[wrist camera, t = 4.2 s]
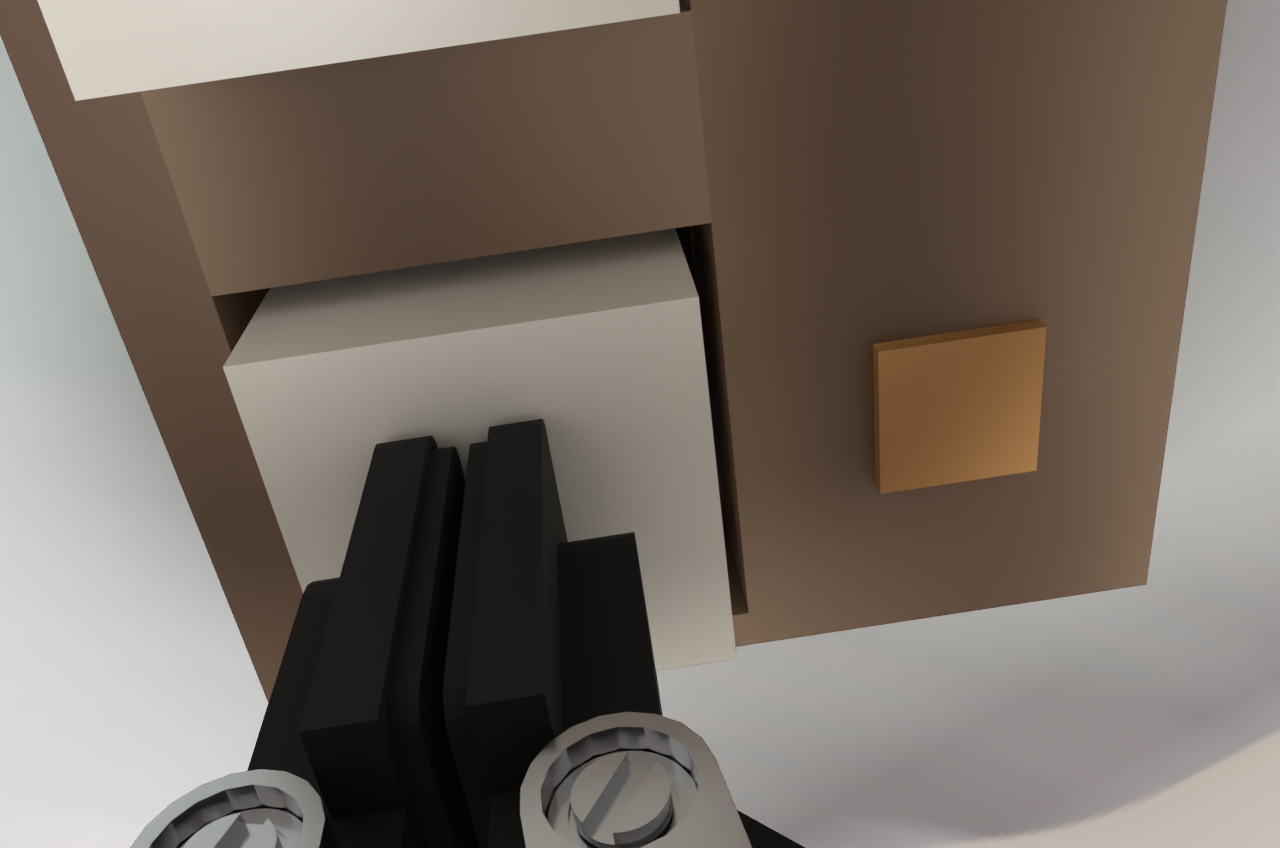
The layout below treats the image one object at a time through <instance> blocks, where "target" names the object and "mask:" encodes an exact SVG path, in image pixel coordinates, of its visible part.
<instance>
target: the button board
mask: <svg viewBox="0 0 1280 848" xmlns="http://www.w3.org/2000/svg"><path fill="white" fill-rule="evenodd" d="M1226 4H1227V0H679V7H680V13H677V14H670V15H663V16H656V17H649V18H642V19H636V20H629V21H622V22H615V23H608V24H601V25H594V26H587V27H581V28H574V29H567V30H560V31H553V32H546V33H539V34H532V35H526V36H519V37H512V38H505V39H498V40H491V41H484V42H477V43H471V44H464V45H457V46H450V47H443V48H436V49H429V50H422V51H416V52H409V53H402V54H395V55H388V56H381V57H374V58H367V59H361V60H354V61H347V62H340V63H333V64H326V65H319V66H312V67H306V68H299V69H292V70H285V71H278V72H271V73H264V74H257V75H251V76H244V77H237V78H230V79H223V80H216V81H209V82H202V83H196V84H189V85H182V86H175V87H168V88H161V89H154V90H148V91H141V92H134V93H127V94H120V95H113V96H106V97H99V98H93V99H86V100H79V101H75V98H74V96H73V93H72V90H71V88H70V85H69V83H68V80H67V77H66V75H65V72H64V69H63V67H62V64H61V61H60V59H59V56H58V54H57V51H56V48H55V46H54V43H53V40H52V38H51V35H50V32H49V30H48V27H47V25H46V22H45V19H44V17H43V14H42V11H41V9H40V6H39V3H38V1H37V0H0V35H1V38H2V40H3V43H4V45H5V48H6V50H7V53H8V55H9V58H10V60H11V63H12V65H13V68H14V70H15V73H16V75H17V78H18V80H19V83H20V85H21V88H22V90H23V93H24V95H25V98H26V100H27V103H28V105H29V108H30V110H31V112H32V115H33V117H34V120H35V122H36V125H37V127H38V130H39V132H40V135H41V137H42V140H43V142H44V145H45V147H46V150H47V152H48V155H49V157H50V160H51V162H52V165H53V167H54V170H55V172H56V175H57V177H58V180H59V182H60V185H61V187H62V190H63V192H64V195H65V197H66V200H67V202H68V205H69V207H70V210H71V212H72V215H73V217H74V220H75V222H76V225H77V227H78V230H79V232H80V235H81V237H82V239H83V242H84V244H85V247H86V249H87V252H88V254H89V257H90V259H91V262H92V264H93V267H94V269H95V272H96V274H97V277H98V279H99V282H100V284H101V287H102V289H103V292H104V294H105V297H106V299H107V302H108V304H109V307H110V309H111V312H112V314H113V317H114V319H115V322H116V324H117V327H118V329H119V332H120V334H121V337H122V339H123V342H124V344H125V347H126V349H127V352H128V354H129V357H130V359H131V362H132V364H133V366H134V369H135V371H136V374H137V376H138V379H139V381H140V384H141V386H142V389H143V391H144V394H145V396H146V399H147V401H148V404H149V406H150V409H151V411H152V414H153V416H154V419H155V421H156V424H157V426H158V429H159V431H160V434H161V436H162V439H163V441H164V444H165V446H166V449H167V451H168V454H169V456H170V459H171V461H172V464H173V466H174V469H175V471H176V474H177V476H178V479H179V481H180V484H181V486H182V489H183V491H184V493H185V496H186V498H187V501H188V503H189V506H190V508H191V511H192V513H193V516H194V518H195V521H196V523H197V526H198V528H199V531H200V533H201V536H202V538H203V541H204V543H205V546H206V548H207V551H208V553H209V556H210V558H211V561H212V563H213V566H214V568H215V571H216V573H217V576H218V578H219V581H220V583H221V586H222V588H223V591H224V593H225V596H226V598H227V601H228V603H229V606H230V608H231V611H232V613H233V615H234V618H235V620H236V623H237V625H238V628H239V630H240V633H241V635H242V638H243V640H244V643H245V645H246V648H247V650H248V653H249V655H250V658H251V660H252V663H253V665H254V668H255V670H256V673H257V675H258V678H259V680H260V683H261V685H262V688H263V690H264V693H265V695H266V698H267V700H268V703H269V700H270V697H271V694H272V691H273V687H274V684H275V681H276V678H277V675H278V671H279V668H280V665H281V662H282V659H283V655H284V652H285V649H286V646H287V643H288V639H289V636H290V633H291V630H292V627H293V623H294V620H295V617H296V614H297V611H298V607H299V604H300V601H301V598H302V595H303V592H302V589H301V586H300V583H299V580H298V577H297V575H296V572H295V569H294V566H293V563H292V561H291V558H290V555H289V552H288V549H287V547H286V544H285V541H284V538H283V535H282V532H281V530H280V527H279V524H278V521H277V518H276V516H275V513H274V510H273V507H272V504H271V502H270V499H269V496H268V493H267V490H266V487H265V485H264V482H263V479H262V476H261V473H260V471H259V468H258V465H257V462H256V459H255V457H254V454H253V451H252V448H251V445H250V442H249V440H248V437H247V434H246V431H245V428H244V426H243V423H242V420H241V417H240V414H239V412H238V409H237V406H236V403H235V400H234V397H233V395H232V392H231V389H230V386H229V383H228V381H227V378H226V375H225V372H224V369H223V366H224V364H225V363H226V361H227V359H228V358H229V356H230V354H231V353H232V351H233V349H234V347H235V346H236V344H237V342H238V341H239V339H240V337H241V336H242V334H243V332H244V331H245V329H246V327H247V326H248V324H249V322H250V321H251V319H252V317H253V316H254V314H255V312H256V311H257V309H258V307H259V306H260V304H261V302H262V301H263V299H264V297H265V296H266V294H267V292H268V291H269V289H270V288H273V287H280V286H287V285H293V284H300V283H307V282H314V281H320V280H327V279H334V278H341V277H348V276H354V275H361V274H368V273H375V272H381V271H388V270H395V269H402V268H409V267H415V266H422V265H429V264H436V263H442V262H449V261H456V260H463V259H470V258H476V257H483V256H490V255H497V254H503V253H510V252H517V251H524V250H531V249H537V248H544V247H551V246H558V245H564V244H571V243H578V242H585V241H592V240H598V239H605V238H612V237H619V236H625V235H632V234H639V233H646V232H653V231H659V230H666V229H673V228H680V227H687V226H690V233H691V243H692V252H693V262H694V271H695V281H696V290H697V293H698V296H699V304H700V314H701V323H702V333H703V342H704V352H705V361H706V371H707V380H708V390H709V399H710V409H711V419H712V428H713V438H714V447H715V457H716V466H717V476H718V485H719V495H720V504H721V514H722V523H723V533H724V542H725V552H726V561H727V571H728V580H729V590H730V599H731V609H732V618H733V628H734V637H735V647H737V646H744V645H750V644H757V643H763V642H770V641H777V640H783V639H790V638H796V637H803V636H810V635H816V634H823V633H829V632H836V631H843V630H849V629H856V628H862V627H869V626H876V625H882V624H889V623H895V622H902V621H909V620H915V619H922V618H928V617H935V616H942V615H948V614H955V613H961V612H968V611H975V610H981V609H988V608H994V607H1001V606H1008V605H1014V604H1021V603H1027V602H1034V601H1041V600H1047V599H1054V598H1060V597H1067V596H1074V595H1080V594H1087V593H1093V592H1100V591H1107V590H1113V589H1120V588H1126V587H1133V586H1140V585H1146V582H1147V575H1148V568H1149V561H1150V553H1151V546H1152V539H1153V532H1154V524H1155V517H1156V510H1157V503H1158V495H1159V488H1160V481H1161V474H1162V467H1163V459H1164V452H1165V445H1166V438H1167V430H1168V423H1169V416H1170V409H1171V402H1172V394H1173V387H1174V380H1175V373H1176V365H1177V358H1178V351H1179V344H1180V337H1181V329H1182V322H1183V315H1184V308H1185V300H1186V293H1187V286H1188V279H1189V272H1190V264H1191V257H1192V250H1193V243H1194V235H1195V228H1196V221H1197V214H1198V206H1199V199H1200V192H1201V185H1202V178H1203V170H1204V163H1205V156H1206V149H1207V141H1208V134H1209V127H1210V120H1211V113H1212V105H1213V98H1214V91H1215V84H1216V76H1217V69H1218V62H1219V55H1220V48H1221V40H1222V33H1223V26H1224V19H1225V11H1226Z"/></svg>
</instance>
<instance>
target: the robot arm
mask: <svg viewBox="0 0 1280 848" xmlns="http://www.w3.org/2000/svg"><path fill="white" fill-rule="evenodd" d="M130 848H805V847H803V846H801V845H799V844H797V843H796V842H794V841H792V840H790V839H788V838H787V837H785V836H783V835H781V834H779V833H778V832H776V831H774V830H772V829H770V828H768V827H767V826H765V825H763V824H761V823H759V822H758V821H756V820H754V819H752V818H750V817H749V816H747V815H745V814H743V813H741V812H739V811H738V810H737V809H736V807H735V804H734V802H733V800H732V797H731V795H730V792H729V790H728V787H727V785H726V782H725V780H724V778H723V775H722V773H721V770H720V768H719V765H718V763H717V760H716V758H715V757H714V755H713V754H712V752H711V751H710V749H709V747H708V746H707V744H706V743H705V741H704V740H703V738H702V737H700V736H699V735H697V734H696V733H695V732H693V731H692V730H691V729H689V728H688V727H687V726H685V725H684V724H683V723H681V722H678V721H675V720H672V719H669V718H666V717H663V716H662V709H661V702H660V696H659V689H658V682H657V675H656V668H655V662H654V655H653V648H652V642H651V635H650V628H649V622H648V615H647V609H646V602H645V596H644V589H643V583H642V576H641V570H640V564H639V557H638V551H637V544H636V538H635V532H630V533H624V534H617V535H611V536H604V537H598V538H591V539H585V540H578V541H572V542H568V540H567V535H566V530H565V525H564V519H563V514H562V509H561V504H560V499H559V494H558V489H557V483H556V478H555V473H554V468H553V463H552V458H551V453H550V447H549V442H548V437H547V432H546V427H545V423H544V420H543V419H537V420H530V421H523V422H517V423H510V424H504V425H497V426H491V427H489V430H488V439H487V441H485V442H479V443H472V444H470V447H469V455H468V464H467V473H466V482H465V478H464V474H463V469H462V465H461V461H460V458H459V454H458V451H457V449H456V448H455V446H452V447H446V448H439V449H438V447H437V443H436V441H435V439H434V438H433V436H432V435H431V436H425V437H418V438H412V439H405V440H399V441H392V442H385V443H379V444H376V446H375V448H374V452H373V455H372V459H371V463H370V466H369V470H368V474H367V478H366V481H365V485H364V489H363V492H362V496H361V500H360V504H359V507H358V511H357V515H356V519H355V522H354V526H353V530H352V533H351V537H350V541H349V545H348V548H347V552H346V556H345V559H344V563H343V567H342V571H341V574H340V577H338V578H332V579H325V580H319V581H313V582H311V583H310V584H308V585H307V586H306V589H305V591H304V593H303V595H302V598H301V601H300V604H299V607H298V611H297V614H296V617H295V620H294V623H293V627H292V630H291V633H290V636H289V639H288V643H287V646H286V649H285V652H284V655H283V659H282V662H281V665H280V668H279V671H278V675H277V678H276V681H275V684H274V687H273V691H272V694H271V697H270V700H269V703H268V707H267V710H266V713H265V716H264V719H263V723H262V726H261V729H260V732H259V735H258V739H257V742H256V745H255V748H254V751H253V755H252V758H251V761H250V764H249V767H248V771H245V772H239V773H233V774H229V775H227V776H224V777H221V778H219V779H216V780H214V781H211V782H208V783H206V784H203V785H201V786H199V787H197V788H196V789H194V790H192V791H191V792H189V793H187V794H186V795H184V796H182V797H181V798H179V799H177V800H176V801H174V802H172V803H171V804H170V805H169V806H168V807H167V808H166V809H164V810H163V811H162V812H161V813H160V814H159V815H158V816H156V817H155V818H154V819H153V820H152V821H151V822H150V823H149V824H147V825H146V827H145V828H144V829H143V831H142V832H141V833H140V835H139V836H138V837H137V839H136V840H135V841H134V843H133V844H132V846H131V847H130Z"/></svg>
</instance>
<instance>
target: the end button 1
mask: <svg viewBox="0 0 1280 848" xmlns="http://www.w3.org/2000/svg"><path fill="white" fill-rule="evenodd" d="M223 369H224V372H225V375H226V378H227V381H228V383H229V386H230V389H231V392H232V395H233V397H234V400H235V403H236V406H237V409H238V412H239V414H240V417H241V420H242V423H243V426H244V428H245V431H246V434H247V437H248V440H249V442H250V445H251V448H252V451H253V454H254V457H255V459H256V462H257V465H258V468H259V471H260V473H261V476H262V479H263V482H264V485H265V487H266V490H267V493H268V496H269V499H270V502H271V504H272V507H273V510H274V513H275V516H276V518H277V521H278V524H279V527H280V530H281V532H282V535H283V538H284V541H285V544H286V547H287V549H288V552H289V555H290V558H291V561H292V563H293V566H294V569H295V572H296V575H297V577H298V580H299V583H300V586H301V589H302V592H303V593H304V591H305V589H306V586H307V585H308V584H310V583H311V582H313V581H319V580H325V579H332V578H338V577H340V574H341V571H342V567H343V563H344V559H345V556H346V552H347V548H348V545H349V541H350V537H351V533H352V530H353V526H354V522H355V519H356V515H357V511H358V507H359V504H360V500H361V496H362V492H363V489H364V485H365V481H366V478H367V474H368V470H369V466H370V463H371V459H372V455H373V452H374V448H375V446H376V444H379V443H385V442H392V441H399V440H405V439H412V438H418V437H425V436H431V435H432V436H433V438H434V439H435V441H436V443H437V447H438V449H439V448H446V447H452V446H455V448H456V449H457V451H458V454H459V458H460V461H461V465H462V469H463V474H464V478H465V482H466V473H467V464H468V455H469V447H470V444H472V443H479V442H485V441H487V439H488V430H489V427H491V426H497V425H504V424H510V423H517V422H523V421H530V420H537V419H543V420H544V423H545V427H546V432H547V437H548V442H549V447H550V453H551V458H552V463H553V468H554V473H555V478H556V483H557V489H558V494H559V499H560V504H561V509H562V514H563V519H564V525H565V530H566V535H567V540H568V542H572V541H578V540H585V539H591V538H598V537H604V536H611V535H617V534H624V533H630V532H635V538H636V544H637V551H638V557H639V564H640V570H641V576H642V583H643V589H644V596H645V602H646V609H647V615H648V622H649V628H650V635H651V642H652V648H653V655H654V662H655V668H656V671H658V670H665V669H671V668H678V667H684V666H691V665H698V664H704V663H711V662H717V661H724V660H730V659H737V656H736V647H735V637H734V628H733V618H732V609H731V599H730V590H729V580H728V571H727V561H726V552H725V542H724V533H723V523H722V514H721V504H720V495H719V485H718V476H717V466H716V457H715V447H714V438H713V428H712V419H711V409H710V399H709V390H708V380H707V371H706V361H705V352H704V342H703V333H702V323H701V314H700V304H699V296H698V293H697V290H696V287H695V284H694V281H693V278H692V276H691V273H690V270H689V267H688V264H687V261H686V258H685V255H684V252H683V249H682V246H681V243H680V240H679V237H678V234H677V232H676V229H675V228H673V229H666V230H659V231H653V232H646V233H639V234H632V235H625V236H619V237H612V238H605V239H598V240H592V241H585V242H578V243H571V244H564V245H558V246H551V247H544V248H537V249H531V250H524V251H517V252H510V253H503V254H497V255H490V256H483V257H476V258H470V259H463V260H456V261H449V262H442V263H436V264H429V265H422V266H415V267H409V268H402V269H395V270H388V271H381V272H375V273H368V274H361V275H354V276H348V277H341V278H334V279H327V280H320V281H314V282H307V283H300V284H293V285H287V286H280V287H273V288H270V289H269V291H268V292H267V294H266V296H265V297H264V299H263V301H262V302H261V304H260V306H259V307H258V309H257V311H256V312H255V314H254V316H253V317H252V319H251V321H250V322H249V324H248V326H247V327H246V329H245V331H244V332H243V334H242V336H241V337H240V339H239V341H238V342H237V344H236V346H235V347H234V349H233V351H232V353H231V354H230V356H229V358H228V359H227V361H226V363H225V364H224V366H223Z"/></svg>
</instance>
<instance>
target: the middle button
mask: <svg viewBox="0 0 1280 848" xmlns="http://www.w3.org/2000/svg"><path fill="white" fill-rule="evenodd" d="M37 1H38V3H39V6H40V9H41V11H42V14H43V17H44V19H45V22H46V25H47V27H48V30H49V32H50V35H51V38H52V40H53V43H54V46H55V48H56V51H57V54H58V56H59V59H60V61H61V64H62V67H63V69H64V72H65V75H66V77H67V80H68V83H69V85H70V88H71V90H72V93H73V96H74V98H75V101H79V100H86V99H93V98H99V97H106V96H113V95H120V94H127V93H134V92H141V91H148V90H154V89H161V88H168V87H175V86H182V85H189V84H196V83H202V82H209V81H216V80H223V79H230V78H237V77H244V76H251V75H257V74H264V73H271V72H278V71H285V70H292V69H299V68H306V67H312V66H319V65H326V64H333V63H340V62H347V61H354V60H361V59H367V58H374V57H381V56H388V55H395V54H402V53H409V52H416V51H422V50H429V49H436V48H443V47H450V46H457V45H464V44H471V43H477V42H484V41H491V40H498V39H505V38H512V37H519V36H526V35H532V34H539V33H546V32H553V31H560V30H567V29H574V28H581V27H587V26H594V25H601V24H608V23H615V22H622V21H629V20H636V19H642V18H649V17H656V16H663V15H670V14H677V13H680V7H679V0H37Z"/></svg>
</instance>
